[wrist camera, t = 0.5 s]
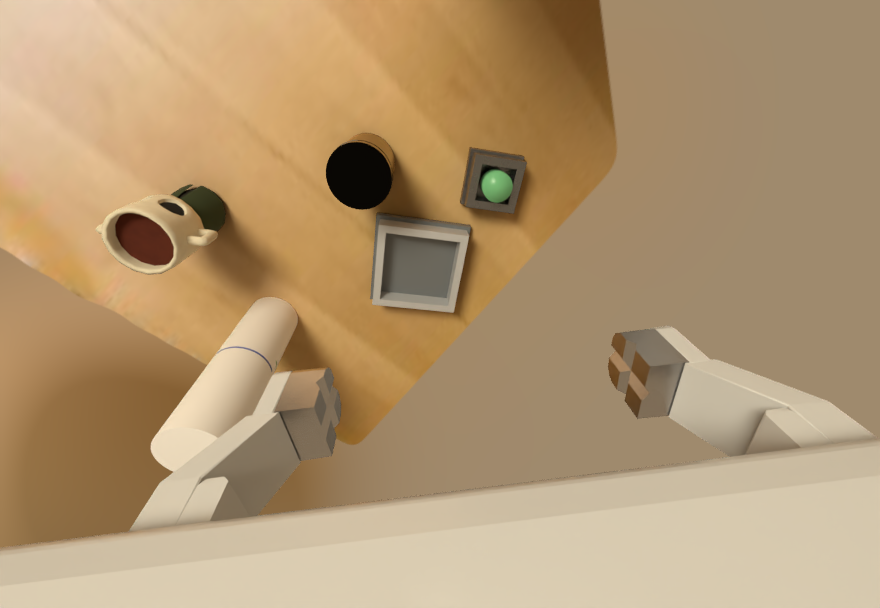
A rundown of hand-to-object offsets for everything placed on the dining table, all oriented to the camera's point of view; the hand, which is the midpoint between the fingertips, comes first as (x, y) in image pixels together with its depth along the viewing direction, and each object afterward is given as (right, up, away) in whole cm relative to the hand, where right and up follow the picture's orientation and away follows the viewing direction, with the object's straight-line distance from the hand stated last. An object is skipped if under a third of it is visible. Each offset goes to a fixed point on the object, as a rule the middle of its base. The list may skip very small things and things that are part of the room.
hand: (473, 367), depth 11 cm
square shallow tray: (-4, +8, +44) cm, 45 cm away
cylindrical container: (-27, 0, +47) cm, 54 cm away
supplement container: (-10, +20, +37) cm, 43 cm away
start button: (+6, +17, +36) cm, 41 cm away
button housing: (+6, +18, +39) cm, 43 cm away
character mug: (-32, +15, +38) cm, 52 cm away
